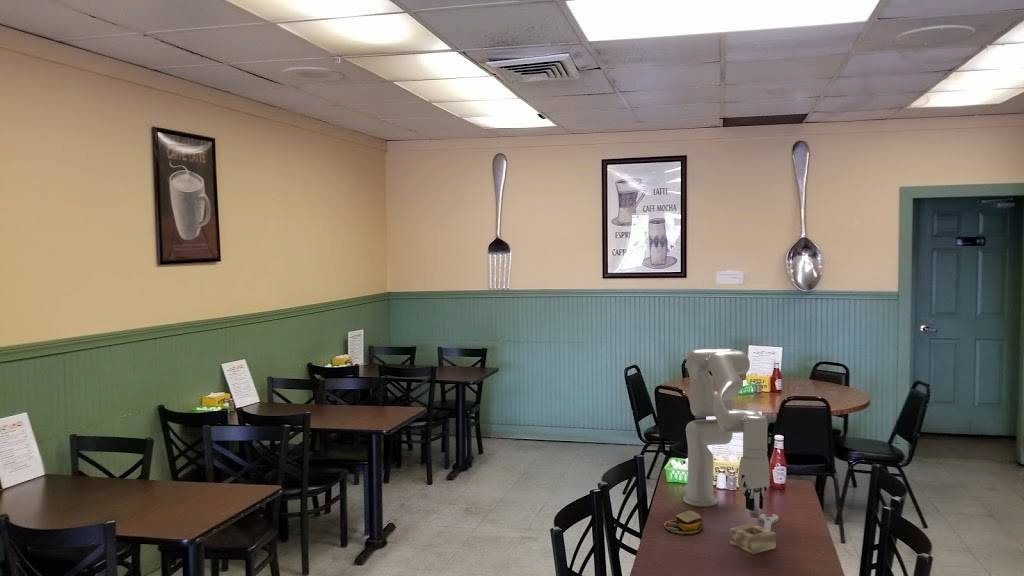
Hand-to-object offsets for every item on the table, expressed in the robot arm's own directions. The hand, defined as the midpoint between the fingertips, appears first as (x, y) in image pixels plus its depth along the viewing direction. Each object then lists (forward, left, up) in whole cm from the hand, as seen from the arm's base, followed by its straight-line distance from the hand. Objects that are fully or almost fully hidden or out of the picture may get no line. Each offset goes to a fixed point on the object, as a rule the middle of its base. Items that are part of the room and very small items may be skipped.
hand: (754, 508), depth 247 cm
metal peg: (0, 0, -3) cm, 3 cm away
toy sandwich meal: (-24, -9, -13) cm, 29 cm away
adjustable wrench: (-10, +16, -13) cm, 23 cm away
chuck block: (0, 0, -13) cm, 13 cm away
